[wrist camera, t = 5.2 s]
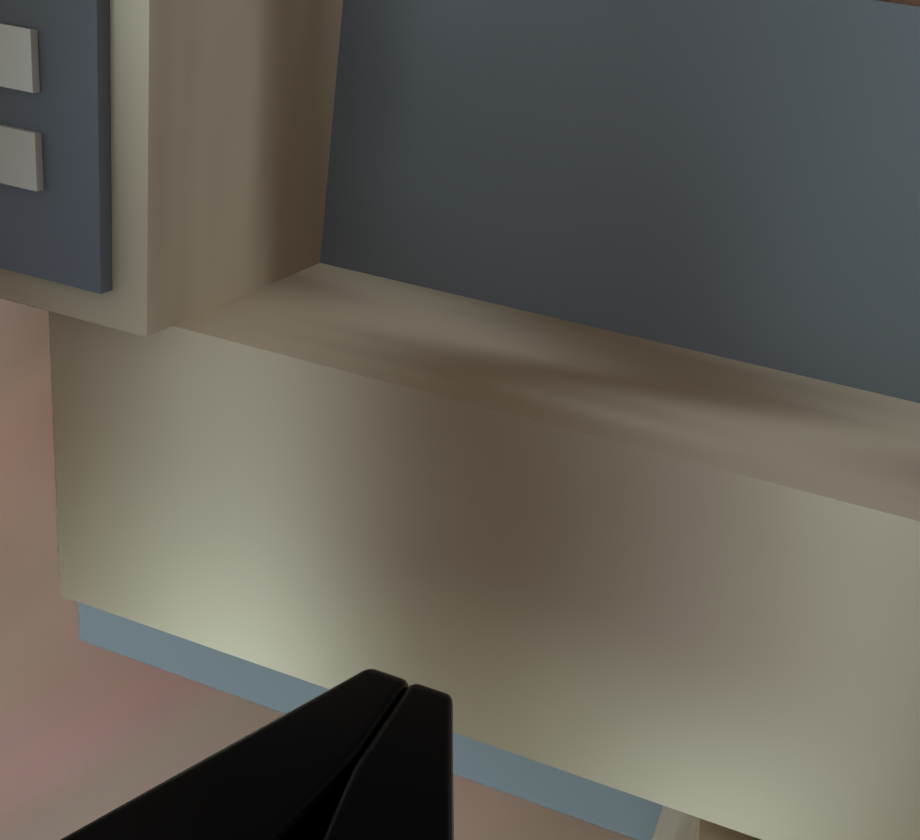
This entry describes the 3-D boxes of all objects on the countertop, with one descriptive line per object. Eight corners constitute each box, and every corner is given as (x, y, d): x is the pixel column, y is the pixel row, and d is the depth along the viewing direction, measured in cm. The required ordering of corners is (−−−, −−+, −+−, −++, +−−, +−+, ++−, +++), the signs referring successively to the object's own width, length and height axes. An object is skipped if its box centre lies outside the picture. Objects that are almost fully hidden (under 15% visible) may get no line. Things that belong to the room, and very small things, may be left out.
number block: (348, -54, 12) (130, -125, 8) (320, 262, 14) (130, 343, 10) (72, -95, 13) (-255, -178, 9) (79, 206, 15) (-190, 257, 11)
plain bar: (1016, 425, 12) (1130, 576, 8) (898, 688, 14) (950, 905, 10) (222, 239, 14) (47, 293, 11) (212, 481, 16) (59, 595, 13)
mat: (1371, 74, 10) (1394, 74, 9) (921, 923, 15) (925, 942, 15) (76, -111, 14) (57, -116, 13) (91, 629, 19) (79, 639, 19)
